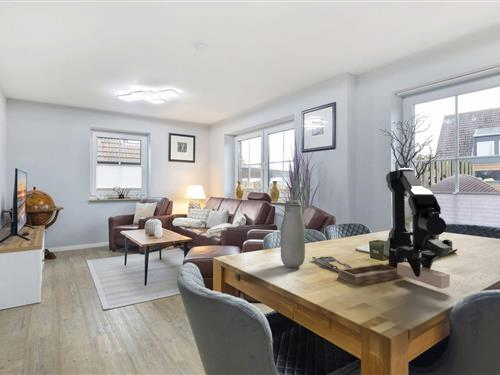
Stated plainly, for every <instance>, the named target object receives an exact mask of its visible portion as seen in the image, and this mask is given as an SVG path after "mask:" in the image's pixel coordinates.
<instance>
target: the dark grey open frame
mask: <svg viewBox="0 0 500 375" xmlns="http://www.w3.org/2000/svg"><path fill="white" fill-rule="evenodd" d="M311 257H312V260H313V261H314V262H316V263H317V264H320V265H323V266H324V267H327V268H330V269H332V270H334V271H336V272H339V270H340V268H338V266H337V265H333V264H332V262H333V263H337V264H340V265H342V266H344V267H346V268H353V266H351V265H350V264H347V263H343V262H340V261H339V260H337V259H336V258H335V257H333V256H321V257H316V256H311Z"/></svg>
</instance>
